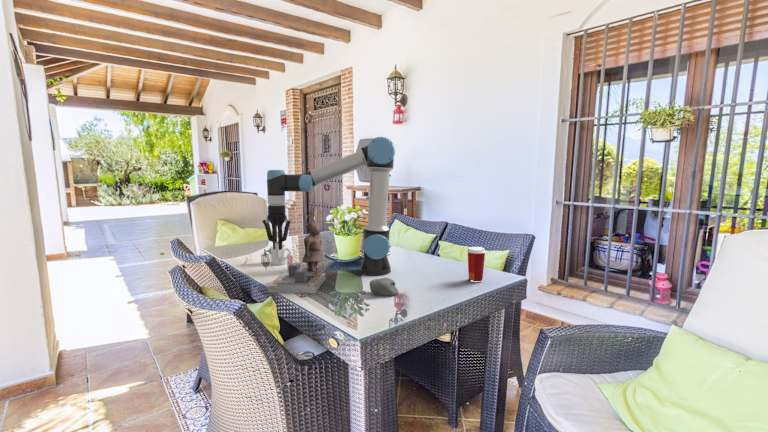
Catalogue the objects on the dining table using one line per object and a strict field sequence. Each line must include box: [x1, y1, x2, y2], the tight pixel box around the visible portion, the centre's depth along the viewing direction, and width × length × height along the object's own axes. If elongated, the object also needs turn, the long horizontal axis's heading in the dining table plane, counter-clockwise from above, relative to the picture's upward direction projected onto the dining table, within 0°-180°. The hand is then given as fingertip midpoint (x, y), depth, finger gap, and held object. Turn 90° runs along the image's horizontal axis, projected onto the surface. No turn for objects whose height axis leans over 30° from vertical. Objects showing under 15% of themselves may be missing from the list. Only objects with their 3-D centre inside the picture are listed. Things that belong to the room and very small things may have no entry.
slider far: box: [287, 261, 302, 276], centre depth 173 cm, size 4×5×6 cm
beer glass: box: [466, 246, 487, 281], centre depth 172 cm, size 8×8×15 cm
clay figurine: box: [302, 220, 325, 271], centre depth 192 cm, size 13×10×25 cm
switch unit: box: [267, 270, 327, 294], centre depth 168 cm, size 20×20×4 cm
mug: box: [270, 244, 292, 266], centre depth 206 cm, size 8×12×10 cm
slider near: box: [295, 267, 308, 283], centre depth 162 cm, size 4×5×6 cm
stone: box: [369, 277, 399, 297], centre depth 156 cm, size 9×9×10 cm
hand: (278, 256), depth 172 cm, fingers closed
